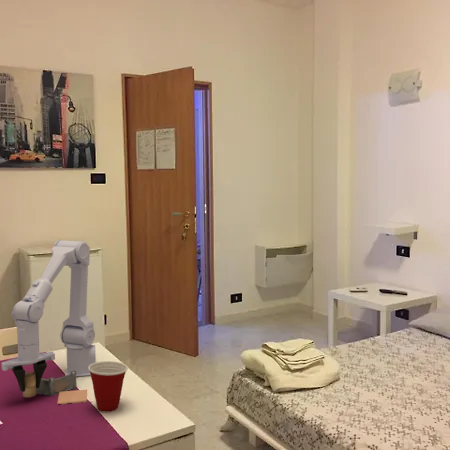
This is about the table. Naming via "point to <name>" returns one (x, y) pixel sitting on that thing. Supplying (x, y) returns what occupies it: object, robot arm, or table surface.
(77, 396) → the coaster
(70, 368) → the robot arm
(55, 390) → the bent rail
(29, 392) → the oak dowel
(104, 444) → the table surface
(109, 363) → the plastic cup
